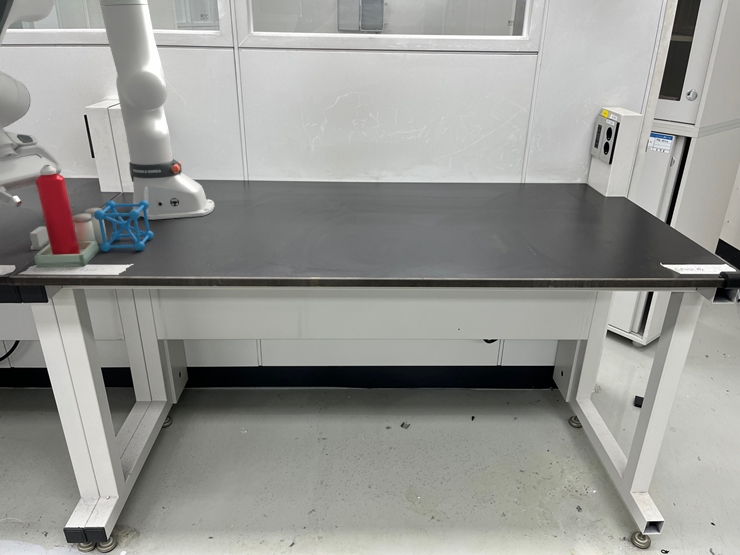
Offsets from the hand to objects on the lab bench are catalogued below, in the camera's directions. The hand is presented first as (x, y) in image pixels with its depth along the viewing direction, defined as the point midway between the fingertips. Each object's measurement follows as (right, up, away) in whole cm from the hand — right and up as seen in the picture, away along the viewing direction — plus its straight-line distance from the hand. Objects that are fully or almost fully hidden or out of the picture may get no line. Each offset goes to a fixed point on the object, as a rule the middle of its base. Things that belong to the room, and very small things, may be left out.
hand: (37, 199), depth 121 cm
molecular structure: (+15, -9, +12) cm, 21 cm away
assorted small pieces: (+2, -11, +8) cm, 14 cm away
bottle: (+5, -12, +3) cm, 13 cm away
